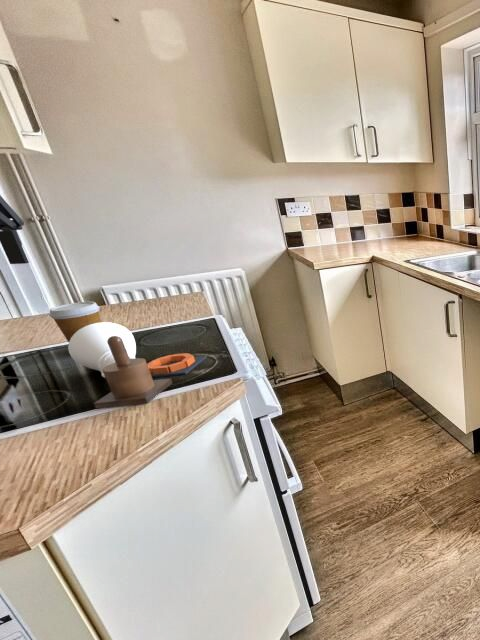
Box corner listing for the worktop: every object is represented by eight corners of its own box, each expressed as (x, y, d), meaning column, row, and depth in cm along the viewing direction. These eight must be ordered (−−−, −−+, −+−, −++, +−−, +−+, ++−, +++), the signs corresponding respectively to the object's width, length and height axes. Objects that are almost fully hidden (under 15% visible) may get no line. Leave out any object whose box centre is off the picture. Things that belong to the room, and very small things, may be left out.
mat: (136, 379, 95) (136, 377, 94) (162, 361, 104) (161, 359, 104) (186, 374, 96) (185, 372, 96) (207, 357, 105) (206, 355, 105)
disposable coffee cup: (68, 348, 114) (49, 306, 110) (115, 339, 120) (98, 299, 115) (64, 358, 107) (43, 313, 103) (113, 349, 113) (96, 306, 108)
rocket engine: (122, 341, 87) (94, 313, 96) (78, 388, 84) (53, 354, 93) (176, 364, 97) (146, 337, 105) (138, 407, 94) (110, 375, 102)
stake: (96, 408, 82) (68, 346, 77) (126, 387, 90) (103, 330, 86) (147, 403, 84) (123, 342, 79) (172, 383, 92) (152, 326, 87)
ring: (140, 375, 95) (137, 369, 95) (162, 360, 103) (160, 355, 102) (182, 371, 96) (180, 366, 96) (200, 357, 104) (199, 352, 104)
